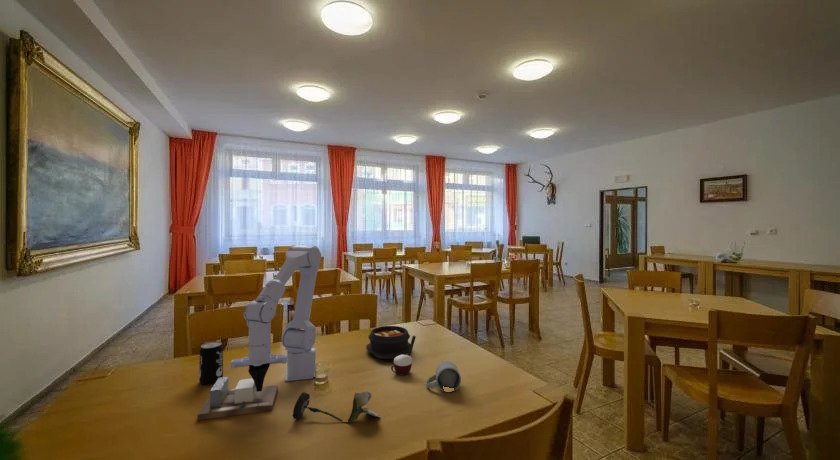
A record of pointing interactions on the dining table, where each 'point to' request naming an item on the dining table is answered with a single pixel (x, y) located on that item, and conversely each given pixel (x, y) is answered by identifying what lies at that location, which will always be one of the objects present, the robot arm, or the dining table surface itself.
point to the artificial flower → (358, 402)
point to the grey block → (218, 393)
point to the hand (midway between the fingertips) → (259, 389)
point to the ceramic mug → (445, 377)
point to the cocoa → (404, 361)
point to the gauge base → (229, 408)
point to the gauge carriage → (243, 391)
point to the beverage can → (210, 363)
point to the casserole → (388, 342)
